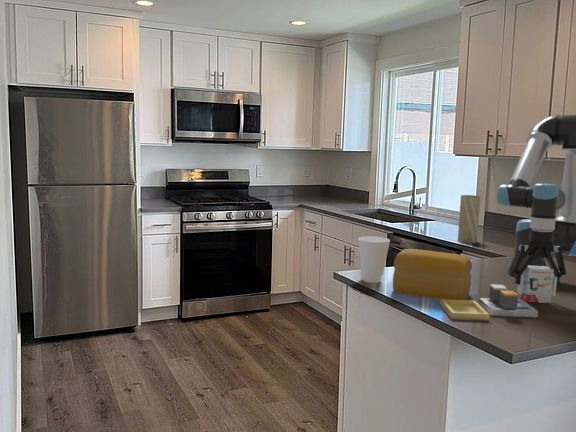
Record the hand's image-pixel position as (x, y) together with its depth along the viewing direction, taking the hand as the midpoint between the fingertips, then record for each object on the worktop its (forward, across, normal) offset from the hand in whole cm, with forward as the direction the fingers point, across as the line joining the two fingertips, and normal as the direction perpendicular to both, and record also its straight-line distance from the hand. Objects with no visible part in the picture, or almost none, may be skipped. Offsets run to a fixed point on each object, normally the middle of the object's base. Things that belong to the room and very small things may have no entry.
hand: (535, 294), depth 182 cm
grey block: (0, +15, +15) cm, 22 cm away
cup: (+3, +53, -20) cm, 57 cm away
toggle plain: (0, +16, +9) cm, 18 cm away
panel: (+2, +14, +12) cm, 19 cm away
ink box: (+3, 0, 0) cm, 3 cm away
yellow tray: (+2, +29, +16) cm, 33 cm away
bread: (+3, +34, -5) cm, 35 cm away
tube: (+3, -11, -113) cm, 114 cm away
